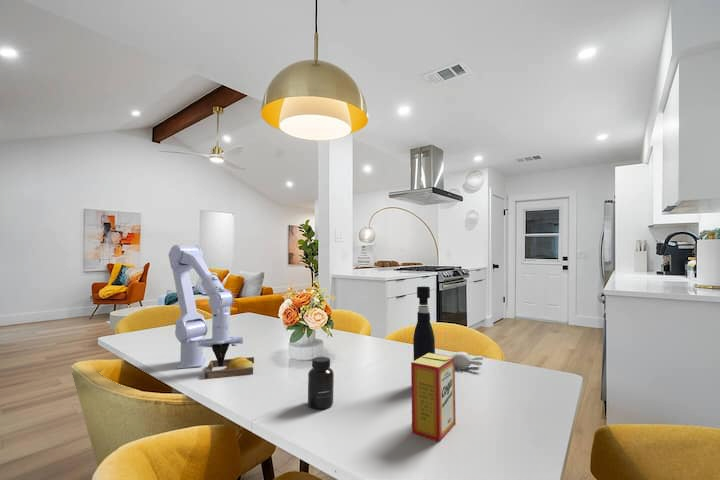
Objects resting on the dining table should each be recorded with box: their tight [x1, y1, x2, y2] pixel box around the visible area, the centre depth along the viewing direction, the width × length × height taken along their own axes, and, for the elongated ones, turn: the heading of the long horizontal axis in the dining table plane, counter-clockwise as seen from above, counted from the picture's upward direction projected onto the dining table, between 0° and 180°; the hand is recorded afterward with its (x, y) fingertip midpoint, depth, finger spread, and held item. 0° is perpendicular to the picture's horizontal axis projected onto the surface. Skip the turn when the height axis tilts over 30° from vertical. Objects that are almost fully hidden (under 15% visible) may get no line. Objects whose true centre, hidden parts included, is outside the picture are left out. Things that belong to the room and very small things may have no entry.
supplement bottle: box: [307, 356, 335, 410], centre depth 93 cm, size 7×7×12 cm
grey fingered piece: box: [442, 351, 483, 370], centre depth 122 cm, size 10×5×15 cm
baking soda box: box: [410, 353, 457, 443], centre depth 80 cm, size 10×6×16 cm
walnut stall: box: [204, 356, 255, 380], centre depth 121 cm, size 13×15×2 cm
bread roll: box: [226, 356, 254, 370], centre depth 121 cm, size 8×9×4 cm
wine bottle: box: [412, 285, 436, 361], centre depth 105 cm, size 6×6×30 cm
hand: (220, 365), depth 120 cm, fingers closed
